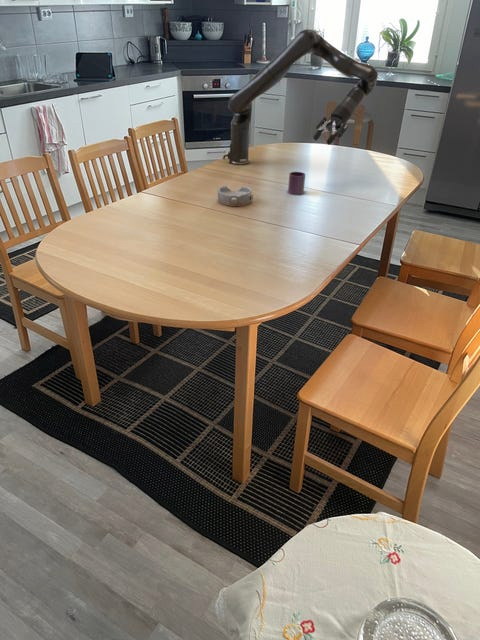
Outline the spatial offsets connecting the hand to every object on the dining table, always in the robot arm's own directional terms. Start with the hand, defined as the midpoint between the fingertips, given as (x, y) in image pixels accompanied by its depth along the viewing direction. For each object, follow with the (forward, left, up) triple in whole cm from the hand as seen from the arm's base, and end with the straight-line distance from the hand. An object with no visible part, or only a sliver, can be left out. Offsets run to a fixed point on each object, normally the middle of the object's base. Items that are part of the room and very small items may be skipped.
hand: (321, 141), depth 211 cm
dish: (-33, -26, -21) cm, 46 cm away
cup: (-9, -8, -20) cm, 23 cm away
